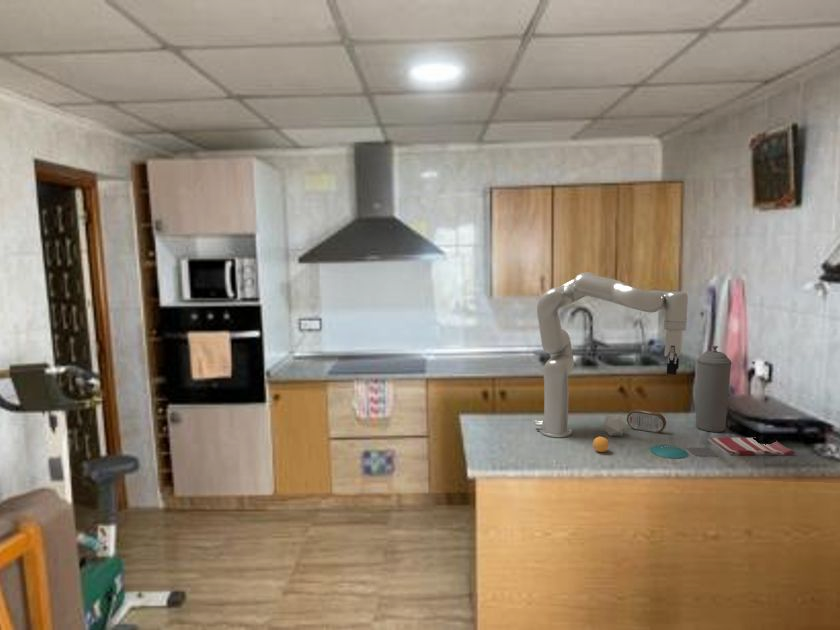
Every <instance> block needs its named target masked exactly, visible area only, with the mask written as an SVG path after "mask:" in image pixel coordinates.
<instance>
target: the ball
mask: <svg viewBox="0 0 840 630" xmlns="http://www.w3.org/2000/svg"><path fill="white" fill-rule="evenodd" d="M592 445H593V448H594V450H596V451H597V452H599V453H604V452H606V451H607V450H608V449H609V447H610V444H609V441H608V439H607V438H606V437H603V436H597V437H595V438H594V439H593V443H592Z"/></svg>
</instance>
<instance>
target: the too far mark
mask: <svg viewBox="0 0 840 630" xmlns="http://www.w3.org/2000/svg"><path fill="white" fill-rule="evenodd" d="M686 450H688V451H689V452H690V453H691V454H693V455H694V456H695V457H719V455H718V454H717V453H715V452H714V451H713V450H712V449H710V448H709V447H686Z"/></svg>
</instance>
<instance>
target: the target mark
mask: <svg viewBox="0 0 840 630" xmlns="http://www.w3.org/2000/svg"><path fill="white" fill-rule="evenodd" d="M665 446H666V447H665ZM667 446H668V447H667ZM661 447H662V448H661ZM649 449H650V450H649V451H650V452H651V453H652V454H653V453H654V455H655V454H656V455H655V456H658V455H659V456H658V457H661V456H662V458H665V457H667V459H672V458H674V459H678V460H679V459H685V458H687V457H689V452H688V451H687V450H685V449H683V448H681V447H678V446H673V445H665V444H661V445H660V444H659V445H654V446H651V447H650V448H649Z"/></svg>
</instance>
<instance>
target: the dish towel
mask: <svg viewBox="0 0 840 630" xmlns="http://www.w3.org/2000/svg"><path fill="white" fill-rule="evenodd" d="M753 438H754V437H729V436H728V437H725V436H724V437H719V436H717V437H709V438H708V442H710V443H712V444H713V445H714V446H716V447H718V448H719V449H720V450H721V451H723V452H724V453H726V454H727V455H729V456H738V457H741V456H742V457H747V456H748V457H754V456H756V455H759V456H761V455H769V456H795V451H794V450H793V449H791V448H788V447H786V446H784V445H783V444H781V443H780V442H778V441H777V440H776V442H774V443H772V444H766V445H765V444H760V443H758V442H757V441H756V440H754V439H753ZM756 457H757V456H756Z"/></svg>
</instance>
